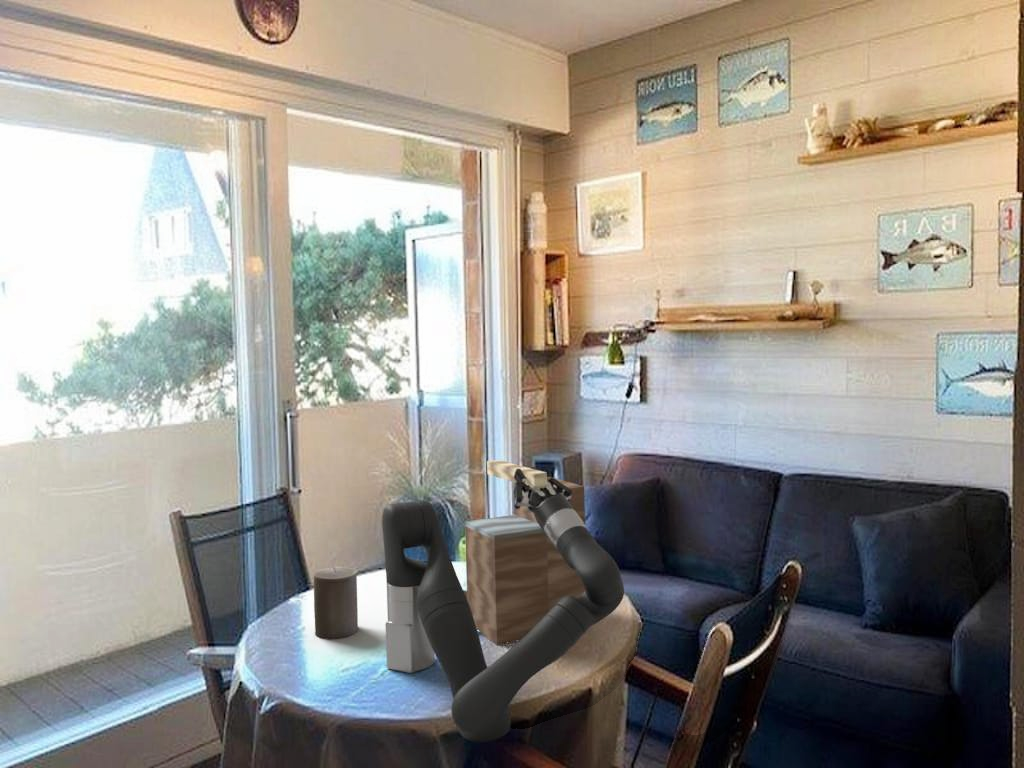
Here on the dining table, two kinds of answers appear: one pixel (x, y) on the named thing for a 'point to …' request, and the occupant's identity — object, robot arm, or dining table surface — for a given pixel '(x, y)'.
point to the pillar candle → (335, 602)
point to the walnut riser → (516, 571)
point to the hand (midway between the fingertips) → (524, 471)
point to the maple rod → (508, 471)
